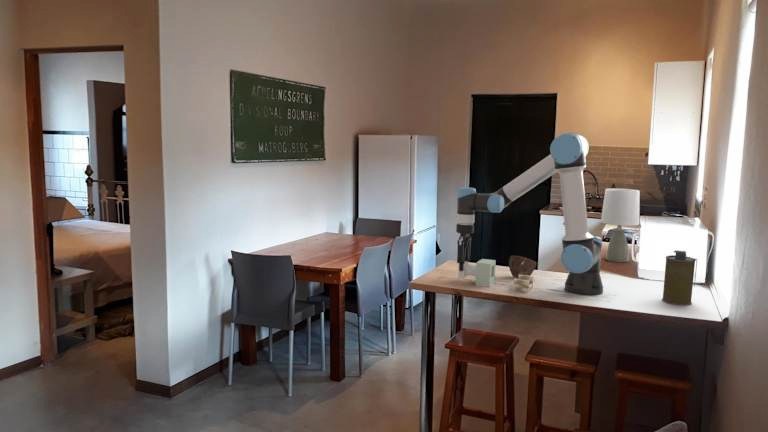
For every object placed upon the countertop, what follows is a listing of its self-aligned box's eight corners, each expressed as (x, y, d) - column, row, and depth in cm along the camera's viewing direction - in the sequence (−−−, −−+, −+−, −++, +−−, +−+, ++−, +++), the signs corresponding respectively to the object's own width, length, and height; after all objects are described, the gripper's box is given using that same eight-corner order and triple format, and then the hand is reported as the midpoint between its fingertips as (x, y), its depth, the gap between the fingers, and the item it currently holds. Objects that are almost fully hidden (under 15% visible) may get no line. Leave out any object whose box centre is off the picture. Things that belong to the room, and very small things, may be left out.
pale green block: (494, 282, 257) (495, 260, 256) (489, 286, 249) (490, 264, 248) (481, 280, 259) (482, 258, 258) (475, 285, 251) (476, 262, 250)
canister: (659, 302, 231) (664, 251, 228) (664, 296, 240) (668, 247, 237) (691, 307, 225) (695, 255, 222) (694, 301, 234) (699, 251, 231)
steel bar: (488, 275, 255) (489, 266, 255) (486, 277, 252) (487, 268, 251) (462, 272, 260) (462, 263, 260) (459, 274, 256) (459, 265, 256)
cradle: (532, 286, 251) (533, 276, 251) (528, 292, 242) (528, 281, 241) (518, 284, 254) (519, 274, 253) (513, 290, 244) (513, 279, 243)
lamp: (592, 260, 310) (597, 189, 306) (605, 255, 325) (610, 187, 320) (629, 265, 299) (635, 192, 294) (641, 260, 313) (646, 190, 308)
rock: (534, 265, 271) (541, 256, 263) (531, 285, 267) (537, 277, 258) (508, 257, 272) (513, 249, 263) (503, 277, 268) (509, 269, 259)
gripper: (462, 220, 264) (460, 272, 267) (450, 225, 249) (448, 280, 252) (479, 221, 261) (476, 274, 264) (468, 226, 246) (465, 282, 249)
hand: (463, 276), depth 258 cm, fingers closed on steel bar, 4 cm apart
